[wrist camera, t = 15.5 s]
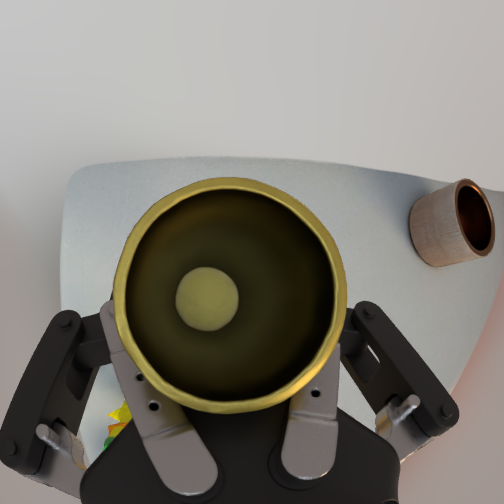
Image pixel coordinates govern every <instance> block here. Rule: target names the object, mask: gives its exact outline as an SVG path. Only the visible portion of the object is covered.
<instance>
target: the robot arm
mask: <svg viewBox="0 0 504 504" xmlns="http://www.w3.org/2000/svg"><path fill="white" fill-rule="evenodd" d="M368 345H369V346H370V347H371V349H372V350H373V352H374V353H375V354H376V356H377V357H378V359H379V362H380V363H379V362H378V361H377V359H376V358H375V357H374V355H373V354H372V353H371V351H370V350H369V348H368ZM340 361H341V362H342V364H343V365H344V367H345V368H346V370H347V371H348V373H349V374H350V376H351V377H352V379H353V380H354V382H355V383H356V385H357V386H358V388H359V390H360V391H361V393H362V394H363V396H364V397H365V399H366V400H367V402H368V403H369V405H370V406H371V408H372V409H373V411H374V412H375V414H376V418H375V425H376V428H375V431H376V433H377V434H376V433H375V432H373V431H372V430H370V429H369V428H367V427H366V426H364V425H363V424H361V423H360V422H358V421H357V420H355V419H354V418H353V417H351V416H350V415H348V414H347V413H345V412H344V411H343V410H341V409H340V408H338V407H337V401H338V387H339V369H340ZM110 363H112V364H113V367H114V370H115V373H116V376H117V379H118V382H119V384H120V387H121V390H122V392H123V395H124V398H125V400H126V403H127V405H128V408H129V410H130V413H131V415H132V419H131V420H130V421H129V422H128V423H127V424H126V426H125V427H124V428H123V429H122V430H121V431H120V432H119V434H118V435H117V436H116V437H115V438H114V439H113V440H112V442H111V443H110V444H109V445H108V446H107V447H106V448H105V450H104V451H103V452H102V453H101V454H100V455H99V456H98V458H97V459H96V460H95V461H94V462H93V463H92V464H91V465H90V467H89V468H88V469H86V467H85V465H84V461H83V455H84V449H83V445H82V443H81V441H80V440H79V439H78V438H77V437H76V436H77V432H78V429H79V426H80V423H81V419H82V416H83V413H84V410H85V407H86V404H87V401H88V398H89V395H90V392H91V389H92V387H93V384H94V381H95V378H96V375H97V373H98V370H99V367H100V366H102V365H106V364H110ZM458 419H459V409H458V406H457V404H456V403H455V401H454V400H453V399H452V397H451V396H450V395H449V393H448V392H447V391H446V389H445V388H444V387H443V385H442V384H441V383H440V381H439V380H438V379H437V377H436V376H435V375H434V373H433V372H432V371H431V370H430V368H429V367H428V366H427V364H426V363H425V362H424V361H423V359H422V358H421V357H420V355H419V354H418V353H417V352H416V350H415V349H414V348H413V347H412V346H411V344H410V343H409V342H408V341H407V339H406V338H405V337H404V336H403V334H402V333H401V332H400V331H399V330H398V328H397V327H396V326H395V325H394V324H393V322H392V321H391V320H390V319H389V318H388V316H387V315H386V314H385V313H384V312H383V311H382V309H381V308H380V307H379V306H377V305H376V304H374V303H372V302H369V301H361V302H359V303H357V304H356V306H355V308H354V309H351V308H346V315H345V320H344V325H343V329H342V332H341V334H340V337H339V340H338V343H337V345H336V348H335V350H334V351H333V353H332V354H331V356H330V358H329V359H328V361H327V362H326V364H325V365H324V367H323V368H322V370H321V371H320V372H319V373H318V374H317V375H316V376H315V377H314V378H313V379H312V380H311V381H310V382H309V383H308V384H307V385H305V386H304V387H303V388H302V389H300V390H299V391H298V392H297V393H295V394H294V395H292V396H291V397H289V398H288V399H286V400H285V401H283V402H281V403H279V404H276V405H274V406H271V407H269V408H265V409H261V410H257V411H251V412H243V413H234V414H213V413H208V412H203V411H199V410H195V409H192V408H190V407H187V406H184V405H182V404H179V403H177V402H175V401H173V400H171V399H169V398H168V397H166V396H165V395H163V394H162V393H160V392H159V391H157V390H156V389H155V388H154V387H153V386H152V385H151V384H150V383H149V382H148V381H147V380H146V379H145V377H144V376H143V375H142V373H141V372H140V371H139V369H138V368H137V367H136V365H135V364H134V363H133V361H132V360H131V358H130V357H129V355H128V354H127V352H126V351H125V349H124V347H123V345H122V343H121V341H120V339H119V336H118V333H117V329H116V324H115V319H114V308H113V290H112V294H111V298H110V300H109V301H108V302H106V303H105V304H104V305H103V306H102V307H101V309H100V312H99V313H97V314H94V315H91V316H87V317H83V318H81V317H80V315H79V314H78V313H77V312H75V311H73V310H64V311H61V312H59V313H58V314H56V316H54V318H53V319H52V320H51V322H50V324H49V326H48V327H47V329H46V331H45V333H44V335H43V337H42V338H41V340H40V342H39V344H38V346H37V348H36V350H35V351H34V353H33V355H32V357H31V359H30V361H29V364H28V365H27V368H26V370H25V372H24V374H23V376H22V378H21V380H20V382H19V385H18V387H17V390H16V391H15V394H14V396H13V399H12V401H11V403H10V406H9V409H8V411H7V413H6V416H5V419H4V421H3V424H2V427H1V430H0V460H1V461H2V463H4V464H5V465H6V466H8V467H10V468H11V469H13V470H15V471H17V472H18V473H20V474H21V475H23V476H25V477H27V478H29V479H31V480H34V481H36V482H38V483H43V484H45V485H47V486H50V487H54V488H56V489H58V490H61V491H63V492H65V493H67V494H70V495H72V496H74V497H77V498H79V499H81V502H82V504H399V501H398V480H399V474H400V462H401V461H403V460H404V459H405V458H407V457H408V456H409V455H411V454H412V453H413V452H415V451H417V450H419V449H420V448H422V447H423V446H425V445H427V444H428V443H430V442H431V441H433V440H434V439H435V438H437V437H439V436H440V435H441V434H443V433H444V432H446V431H447V430H449V429H450V428H451V427H453V426H454V425H455V424H456V423H457V421H458Z"/></svg>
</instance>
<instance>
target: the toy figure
mask: <svg viewBox="0 0 504 504" xmlns="http://www.w3.org/2000/svg"><path fill="white" fill-rule="evenodd" d="M108 416H110V417H112V418H114V419H116V420H118V421H120V422H119V423H118V424H114V425H109V426H108V429H109V437H108V438H107V439H106V440H105V442H104V449H103V451H104V450H105V448H106V447H107V446H108V445H109V444H110V443H111V442H112V440H113V439H114V438H115V437H116V436H117V435H118V434H119V432H120V431H121V430H122V429H123V428H124V427H125V426H126V424H127V423H128V422H129V421H130V420H131V419H132V415H131V413H130V410H129V408H128V405H127V403H126V401H125V402H124V403H123V405H122V406H121V408H119V409H117V410H116V411H114V412H112V413H110V414H108Z"/></svg>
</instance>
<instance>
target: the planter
mask: <svg viewBox="0 0 504 504" xmlns="http://www.w3.org/2000/svg"><path fill="white" fill-rule="evenodd" d="M410 232H411V237H412V240H413V243H414V246H415V248H416V250H417V252H418V253H419V255H420V256H421V258H422V259H423V260H424V261H425V262H427V263H428V264H430V265H432V266H436V267H442V266H447V265H451V264H456V263H460V262H465V261H469V260H474V259H479V258H483V257H486V256H488V255H489V254H490V252H491V251H492V248H493V245H494V241H495V223H494V217H493V213H492V210H491V207H490V204H489V202H488V200H487V198H486V196H485V194H484V193H483V191H482V190H481V189H480V187H479V186H478V185H477V184H476V183H474V182H473V181H471V180H470V179H461V180H459V181H457V182H455V183H452V184H450V185H448V186H446V187H444V188H442V189H440V190H437V191H435V192H433V193H431V194H428V195H426V196H424V197H422V198H420V199H419V200H418V201H417V202H416V203H415V204H414V206H413V207H412V210H411V214H410Z"/></svg>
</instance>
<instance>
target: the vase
mask: <svg viewBox="0 0 504 504" xmlns="http://www.w3.org/2000/svg"><path fill="white" fill-rule="evenodd" d="M113 308H114V319H115V324H116V329H117V333H118V336H119V339H120V341H121V343H122V345H123V347H124V349H125V351H126V352H127V354H128V355H129V357H130V358H131V360H132V361H133V363H134V364H135V365H136V367H137V368H138V369H139V371H140V372H141V373H142V375H143V376H144V377H145V379H146V380H147V381H148V382H149V383H150V384H151V385H152V386H153V387H154V388H155V389H156V390H157V391H159V392H160V393H162V394H163V395H165V396H166V397H168V398H169V399H171V400H173V401H175V402H177V403H179V404H182V405H184V406H187V407H190V408H192V409H195V410H199V411H203V412H208V413H213V414H234V413H243V412H251V411H257V410H261V409H265V408H269V407H271V406H274V405H276V404H279V403H281V402H283V401H285V400H286V399H288V398H289V397H291V396H292V395H294V394H295V393H297V392H298V391H299V390H300V389H302V388H303V387H304V386H305V385H307V384H308V383H309V382H310V381H311V380H312V379H313V378H314V377H315V376H316V375H317V374H318V373H319V372H320V371H321V370H322V368H323V367H324V365H325V364H326V362H327V361H328V359H329V358H330V356H331V354H332V353H333V351H334V350H335V348H336V345H337V343H338V340H339V337H340V334H341V332H342V329H343V325H344V320H345V315H346V308H347V283H346V277H345V271H344V267H343V263H342V259H341V256H340V253H339V250H338V248H337V246H336V243H335V241H334V239H333V238H332V236H331V235H330V233H329V232H328V230H327V229H326V228H325V226H324V225H323V224H322V223H321V222H320V220H319V219H318V218H317V217H316V216H315V215H314V214H313V213H312V212H311V211H310V210H309V209H308V208H307V207H306V206H305V205H303V204H302V203H301V202H299V201H298V200H297V199H295V198H294V197H292V196H290V195H289V194H287V193H285V192H283V191H281V190H279V189H277V188H275V187H272V186H270V185H267V184H265V183H262V182H259V181H256V180H252V179H247V178H238V177H220V178H211V179H206V180H201V181H198V182H195V183H193V184H190V185H188V186H185V187H183V188H181V189H179V190H176V191H174V192H172V193H171V194H169V195H167V196H165V197H163V198H162V199H160V200H159V201H158V202H156V203H155V204H153V205H152V206H151V207H150V208H149V209H148V211H147V212H146V213H145V214H144V215H143V216H142V217H141V218H140V220H139V221H138V222H137V223H136V225H135V226H134V228H133V229H132V231H131V233H130V234H129V236H128V238H127V241H126V243H125V246H124V248H123V251H122V254H121V257H120V260H119V263H118V266H117V269H116V273H115V277H114V282H113Z"/></svg>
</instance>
